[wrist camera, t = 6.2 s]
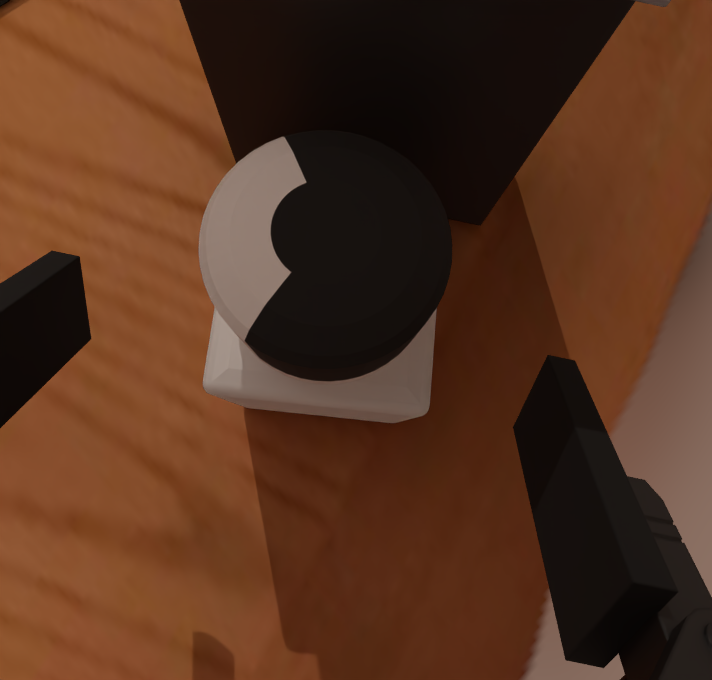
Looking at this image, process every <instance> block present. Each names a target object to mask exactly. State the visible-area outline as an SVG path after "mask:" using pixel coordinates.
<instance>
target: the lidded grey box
mask: <svg viewBox="0 0 712 680" xmlns="http://www.w3.org/2000/svg"><path fill="white" fill-rule="evenodd" d="M635 1H638V2H643V3H647V4H652V5H657V6H661V7H666V6H667V5H668V4H669V2H670V1H671V0H180V3H181V6H182V9H183V12H184V15H185V18H186V21H187V23H188V26H189V29H190V32H191V35H192V38H193V41H194V44H195V46H196V49H197V52H198V55H199V58H200V61H201V64H202V67H203V69H204V72H205V75H206V78H207V81H208V84H209V87H210V89H211V92H212V95H213V98H214V101H215V104H216V107H217V110H218V112H219V115H220V118H221V121H222V124H223V127H224V130H225V133H226V135H227V138H228V141H229V144H230V147H231V150H232V153H233V155H234V158H235V161H236V164H237V163H238V162H239V161H240V160H241V159H243V158H244V157H245V156H247V155H248V154H249V153H251V152H252V151H254V150H255V149H257V148H259V147H261V146H262V145H264V144H266V143H268V142H270V141H273V140H275V139H278V138H280V137H283V136H287V135H290V134H294V133H298V132H305V131H312V130H336V131H344V132H351V133H355V134H359V135H363V136H366V137H369V138H371V139H374V140H376V141H379V142H381V143H383V144H385V145H387V146H389V147H391V148H392V149H394V150H396V151H397V152H399V153H400V154H401V155H403V156H404V157H406V158H407V159H408V160H410V161H411V162H412V163H413V164H414V165H415V166H416V167H417V168H418V169H419V170H420V171H421V172H422V173H423V175H424V176H425V177H426V178H427V179H428V181H429V182H430V183H431V185H432V186H433V188H434V190H435V191H436V193H437V195H438V196H439V198H440V200H441V202H442V205H443V207H444V209H445V212H446V215H447V218H449V219H453V220H458V221H463V222H467V223H472V224H477V225H481V224H482V223H483V221H484V220H485V218H486V217H487V215H488V214H489V212H490V211H491V210H492V208H493V207H494V205H495V204H496V202H497V201H498V199H499V198H500V197H501V195H502V194H503V192H504V191H505V189H506V188H507V186H508V185H509V183H510V182H511V181H512V179H513V178H514V176H515V175H516V173H517V172H518V170H519V169H520V168H521V166H522V165H523V163H524V162H525V160H526V159H527V157H528V156H529V155H530V153H531V152H532V150H533V149H534V147H535V146H536V144H537V143H538V141H539V140H540V139H541V137H542V136H543V134H544V133H545V131H546V130H547V128H548V127H549V126H550V124H551V123H552V121H553V120H554V118H555V117H556V115H557V114H558V112H559V111H560V110H561V108H562V107H563V105H564V104H565V102H566V101H567V99H568V98H569V97H570V95H571V94H572V92H573V91H574V89H575V88H576V86H577V85H578V84H579V82H580V81H581V79H582V78H583V76H584V75H585V73H586V72H587V70H588V69H589V68H590V66H591V65H592V63H593V62H594V60H595V59H596V57H597V56H598V55H599V53H600V52H601V50H602V49H603V47H604V46H605V44H606V43H607V42H608V40H609V39H610V37H611V36H612V34H613V33H614V31H615V30H616V28H617V27H618V26H619V24H620V23H621V21H622V20H623V18H624V17H625V15H626V14H627V13H628V11H629V10H630V8H631V7H632V5H633V4H634V2H635Z"/></svg>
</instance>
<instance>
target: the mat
mask: <svg viewBox="0 0 712 680" xmlns="http://www.w3.org/2000/svg"><path fill="white" fill-rule="evenodd" d="M8 1H9V0H0V6H1V5H3V4H4V3H6V2H8Z"/></svg>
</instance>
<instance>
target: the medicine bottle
mask: <svg viewBox="0 0 712 680" xmlns="http://www.w3.org/2000/svg"><path fill="white" fill-rule="evenodd" d="M199 261H200V269H201V273H202V277H203V281H204V285H205V287H206V290H207V292H208V294H209V297H210V299H211V301H212V303H213V304H214V306H215V310H214V316H213V322H212V328H211V334H210V340H209V346H208V352H207V359H206V365H205V371H204V377H203V388H204V390H205V391H206V392H207V393H208V394H211V395H214V396H216V397H219V398H222V399H224V400H227V401H230V402H232V403H235V404H238V405H240V406H243V407H246V408H252V409H261V410H271V411H281V412H290V413H300V414H309V415H319V416H328V417H338V418H347V419H357V420H366V421H376V422H385V423H397V422H401V421H405V420H409V419H413V418H416V417H420V416H423V415H425V414H426V413H427V412H428V409H429V406H430V394H431V380H432V366H433V352H434V338H435V324H436V311H437V306H438V304H439V302H440V300H441V298H442V296H443V294H444V291H445V288H446V285H447V282H448V279H449V275H450V269H451V263H452V239H451V230H450V226H449V222H448V218H447V215H446V212H445V209H444V207H443V205H442V202H441V200H440V198H439V196H438V195H437V193H436V191H435V190H434V188H433V186H432V185H431V183H430V182H429V181H428V179H427V178H426V177H425V176H424V175H423V173H422V172H421V171H420V170H419V169H418V168H417V167H416V166H415V165H414V164H413V163H412V162H411V161H410V160H408V159H407V158H406V157H404V156H403V155H401V154H400V153H399V152H397V151H396V150H394V149H392V148H391V147H389V146H387V145H385V144H383V143H381V142H379V141H376V140H374V139H371V138H369V137H366V136H363V135H359V134H355V133H351V132H344V131H336V130H312V131H305V132H298V133H294V134H290V135H287V136H283V137H280V138H278V139H275V140H273V141H270V142H268V143H266V144H264V145H262V146H261V147H259V148H257V149H255V150H254V151H252V152H251V153H249V154H248V155H247V156H245V157H244V158H243V159H241V160H240V161H239V162H238V163H237V164H236V165H235V166H234V167H233V168H232V169H231V170H230V171H229V172H228V173H227V174H226V175H225V177H224V178H223V179H222V181H221V182H220V183H219V185H218V186H217V187H216V189H215V191H214V193H213V195H212V197H211V198H210V200H209V202H208V205H207V208H206V210H205V213H204V216H203V220H202V224H201V229H200V235H199Z"/></svg>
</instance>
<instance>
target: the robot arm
mask: <svg viewBox="0 0 712 680" xmlns="http://www.w3.org/2000/svg"><path fill="white" fill-rule="evenodd" d="M90 340H91V334H90V327H89V320H88V313H87V306H86V299H85V291H84V284H83V277H82V270H81V263H80V256H75V255H70V254H65V253H61V252H56V251H51V252H49V253H48V254H46V255H45V256H43V257H41V258H40V259H38V260H37V261H35V262H34V263H32V264H30V265H29V266H27V267H26V268H24V269H23V270H21V271H19V272H18V273H16V274H15V275H13V276H12V277H10V278H8V279H7V280H5V281H4V282H2V283H1V284H0V428H1V427H2V426H3V425H4V424H5V423H6V422H7V421H8V420H9V419H10V418H11V417H12V416H13V415H14V414H15V413H16V412H17V411H18V410H19V409H20V408H21V407H22V406H23V405H24V404H25V403H26V402H27V401H28V400H29V399H30V398H32V397H33V396H34V395H35V394H36V393H37V392H38V391H39V390H40V389H41V388H42V387H43V386H44V385H45V384H46V383H47V382H48V381H49V380H50V379H51V378H52V377H53V376H54V375H55V374H56V373H57V372H58V371H59V370H60V369H61V368H62V367H63V366H64V365H65V364H66V363H67V362H68V361H69V360H70V359H71V358H72V357H73V356H74V355H75V354H76V353H77V352H78V351H79V350H80V349H81V348H82V347H83V346H84V345H86V344H87V343H88V342H89V341H90ZM513 429H514V434H515V438H516V443H517V447H518V451H519V456H520V460H521V465H522V469H523V474H524V478H525V482H526V487H527V491H528V496H529V500H530V505H531V509H532V513H533V518H534V522H535V527H536V531H537V536H538V540H539V544H540V549H541V553H542V558H543V562H544V567H545V571H546V575H547V580H548V584H549V589H550V593H551V598H552V602H553V607H554V611H555V615H556V619H557V624H558V629H559V633H560V638H561V642H562V646H563V650H564V655H565V659H566V660H567V661H572V662H577V663H582V664H587V665H592V666H597V667H602V668H604V667H605V666H606V665H607V664H608V663H609V662H610V661H611V660H612V659H613V658H614V657H615V656H616V655H617V654H618V653H619V656H620V659H621V662H622V666H623V669H624V672H625V675H624V676H623V677H622V678H621V679H620V680H712V597H711V595H710V593H709V591H708V590H707V587H706V586H705V583H704V581H703V579H702V578H701V575H700V574H699V571H698V569H697V567H696V565H695V563H694V562H693V560H692V557H691V555H690V553H689V552H688V549H687V548H686V545H685V544H684V543H682V542H681V540H682V538H681V536H680V534H679V532H678V530H677V528H676V526H675V525H673V520H672V518H671V516H670V514H669V512H668V510H667V508H666V506H665V504H664V502H663V500H662V499H661V498H660V496H659V495H658V494H657V493H656V492H655V491H654V490H653V489H652V488H651V487H650V485H649V484H648V483H647V482H646V481H645V480H642V479H638V478H633V477H627V475H626V473H625V471H624V469H623V467H622V464H621V462H620V460H619V458H618V456H617V453H616V451H615V449H614V447H613V444H612V442H611V440H610V438H609V435H608V433H607V431H606V429H605V426H604V424H603V422H602V420H601V418H600V415H599V413H598V411H597V409H596V406H595V404H594V402H593V400H592V398H591V395H590V393H589V391H588V389H587V386H586V384H585V382H584V380H583V377H582V375H581V373H580V371H579V369H578V366H577V364H576V362H575V361H574V360H569V359H565V358H560V357H555V356H550V355H548V356H547V358H546V360H545V362H544V364H543V366H542V368H541V370H540V372H539V374H538V376H537V378H536V380H535V383H534V385H533V387H532V389H531V391H530V393H529V395H528V397H527V399H526V401H525V403H524V405H523V407H522V409H521V412H520V414H519V416H518V418H517V420H516V422H515V424H514V426H513Z"/></svg>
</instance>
